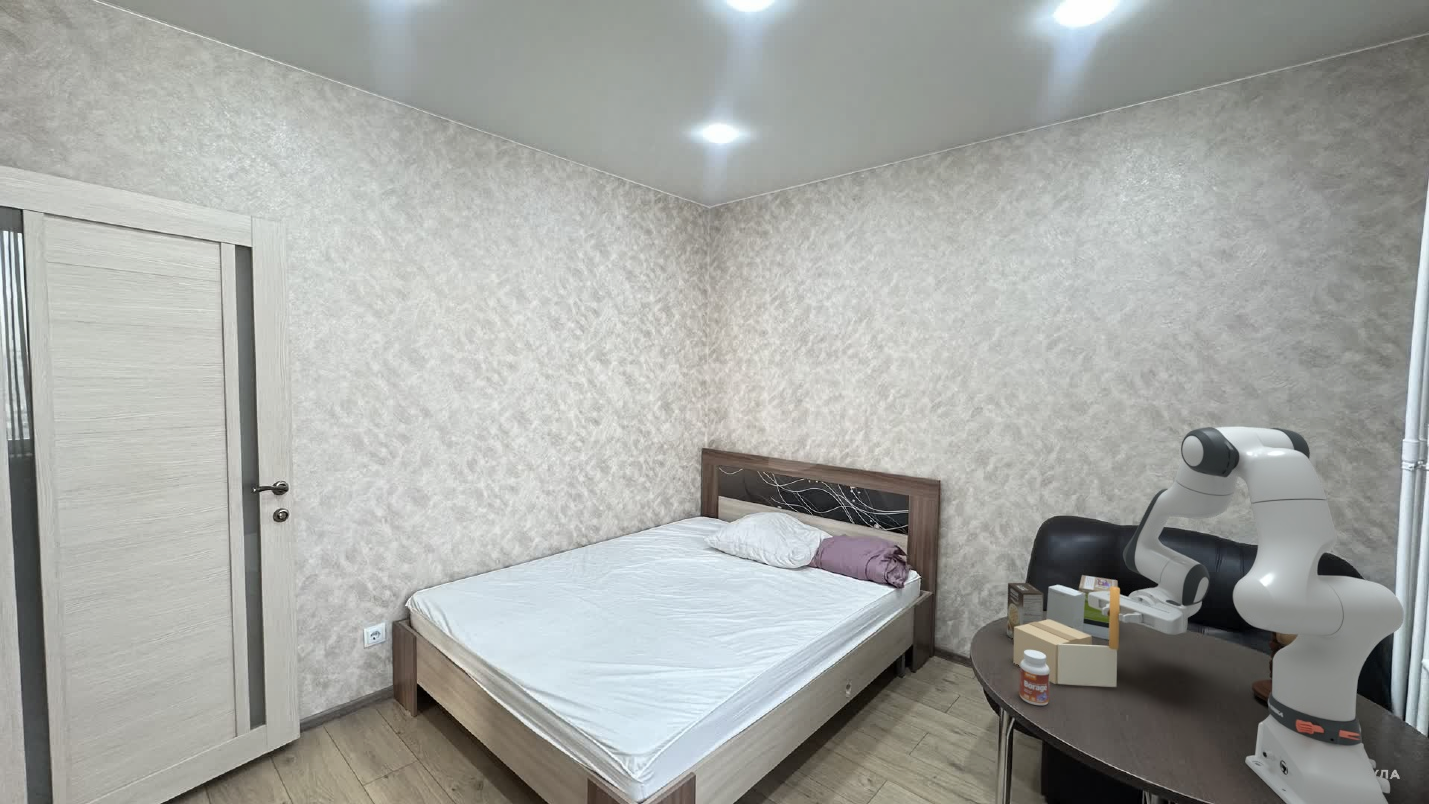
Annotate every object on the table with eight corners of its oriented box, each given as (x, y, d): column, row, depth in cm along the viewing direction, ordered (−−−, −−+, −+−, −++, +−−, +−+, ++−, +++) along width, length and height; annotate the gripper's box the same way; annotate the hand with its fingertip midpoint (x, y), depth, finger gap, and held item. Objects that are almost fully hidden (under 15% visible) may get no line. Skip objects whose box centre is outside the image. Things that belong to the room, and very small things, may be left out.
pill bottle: (1021, 703, 136) (1021, 657, 136) (1017, 690, 142) (1018, 646, 141) (1051, 708, 134) (1051, 661, 133) (1046, 695, 139) (1047, 650, 139)
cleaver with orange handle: (1057, 682, 145) (1059, 584, 144) (1114, 685, 143) (1116, 586, 143) (1061, 686, 143) (1063, 587, 142) (1119, 689, 141) (1121, 589, 141)
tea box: (1080, 618, 188) (1081, 573, 187) (1118, 626, 182) (1119, 579, 181) (1077, 634, 175) (1078, 586, 175) (1117, 642, 170) (1118, 593, 169)
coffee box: (1005, 634, 175) (1006, 582, 175) (1026, 634, 175) (1027, 582, 174) (1021, 647, 166) (1022, 592, 165) (1043, 648, 166) (1044, 592, 165)
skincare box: (1045, 634, 174) (1045, 586, 174) (1056, 631, 178) (1057, 583, 177) (1073, 645, 167) (1074, 595, 167) (1084, 641, 170) (1085, 591, 170)
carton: (1013, 663, 156) (1014, 626, 156) (1048, 654, 161) (1049, 618, 161) (1054, 684, 145) (1055, 644, 145) (1091, 673, 150) (1091, 635, 150)
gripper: (1107, 582, 156) (1072, 589, 151) (1194, 609, 137) (1158, 617, 132) (1107, 605, 156) (1072, 612, 151) (1193, 635, 137) (1157, 644, 132)
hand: (1113, 615), depth 141 cm, fingers open, 3 cm apart
